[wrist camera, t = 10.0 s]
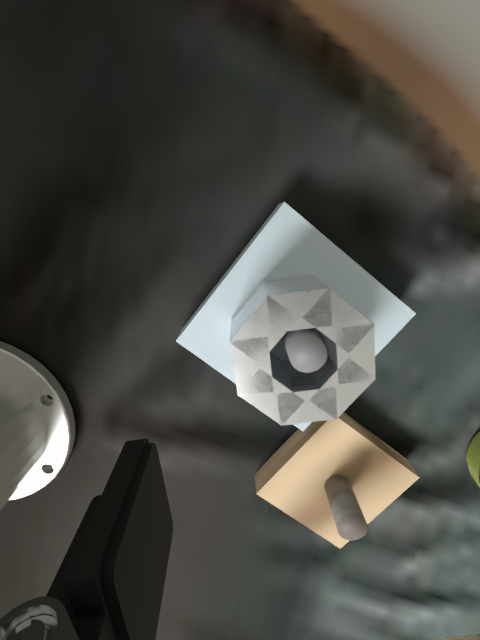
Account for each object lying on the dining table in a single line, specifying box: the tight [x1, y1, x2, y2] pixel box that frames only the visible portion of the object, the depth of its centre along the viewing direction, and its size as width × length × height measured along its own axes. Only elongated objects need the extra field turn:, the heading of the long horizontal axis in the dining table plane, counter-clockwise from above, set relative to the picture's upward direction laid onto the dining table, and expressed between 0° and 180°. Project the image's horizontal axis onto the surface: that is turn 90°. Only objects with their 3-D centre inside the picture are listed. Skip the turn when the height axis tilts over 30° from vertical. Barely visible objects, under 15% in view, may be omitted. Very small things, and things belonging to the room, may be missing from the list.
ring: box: [230, 274, 376, 425], centre depth 19 cm, size 7×7×4 cm
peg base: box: [176, 202, 416, 431], centre depth 20 cm, size 10×10×7 cm
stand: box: [255, 412, 419, 549], centre depth 24 cm, size 8×8×6 cm
